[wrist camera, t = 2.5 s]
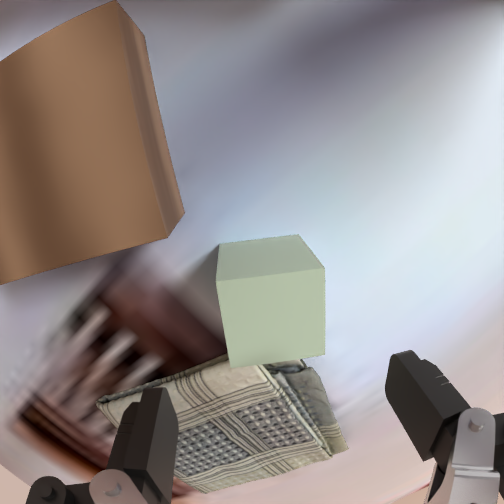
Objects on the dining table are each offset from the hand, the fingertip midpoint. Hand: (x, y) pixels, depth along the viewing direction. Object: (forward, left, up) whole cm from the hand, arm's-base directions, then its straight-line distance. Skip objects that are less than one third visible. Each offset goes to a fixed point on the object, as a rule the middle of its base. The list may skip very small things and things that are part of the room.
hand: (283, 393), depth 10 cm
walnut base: (+11, -10, -11) cm, 18 cm away
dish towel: (+4, +15, -12) cm, 20 cm away
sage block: (0, 0, -11) cm, 11 cm away
